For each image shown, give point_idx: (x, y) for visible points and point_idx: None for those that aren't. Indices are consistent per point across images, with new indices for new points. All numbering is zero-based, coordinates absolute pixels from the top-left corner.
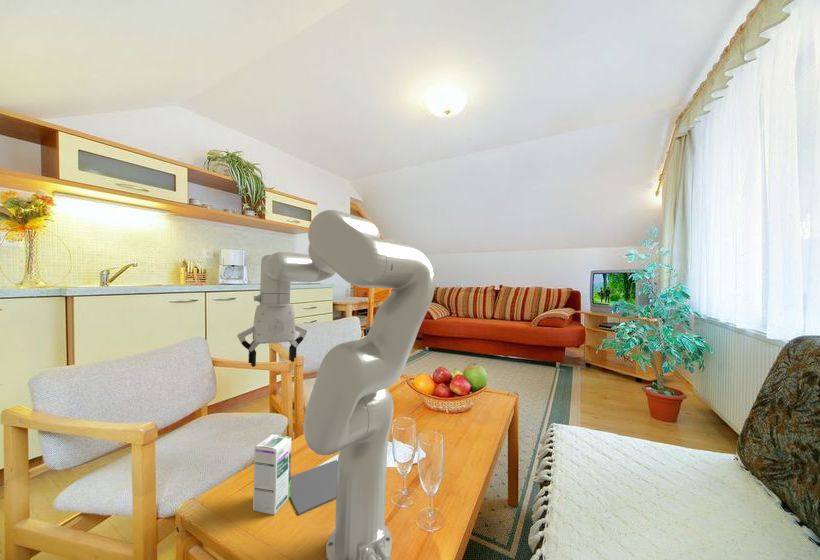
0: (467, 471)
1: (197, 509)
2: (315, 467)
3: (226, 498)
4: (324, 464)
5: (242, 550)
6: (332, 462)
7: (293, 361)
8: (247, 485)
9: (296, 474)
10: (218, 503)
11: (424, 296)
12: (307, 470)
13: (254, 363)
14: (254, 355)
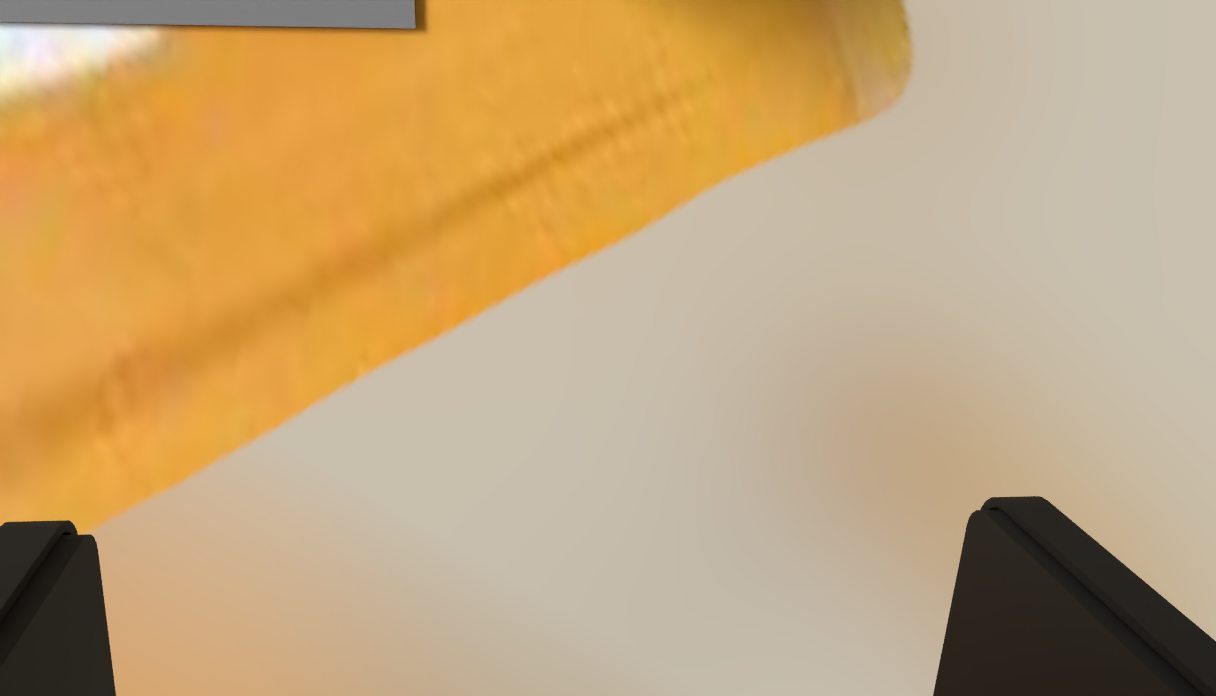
0: None
1: (876, 57)
2: (154, 23)
3: (738, 61)
4: (74, 16)
5: None
6: (2, 4)
7: (34, 525)
8: (615, 119)
9: (309, 24)
10: (781, 40)
11: None
12: (221, 23)
13: (1036, 527)
14: (1184, 648)
